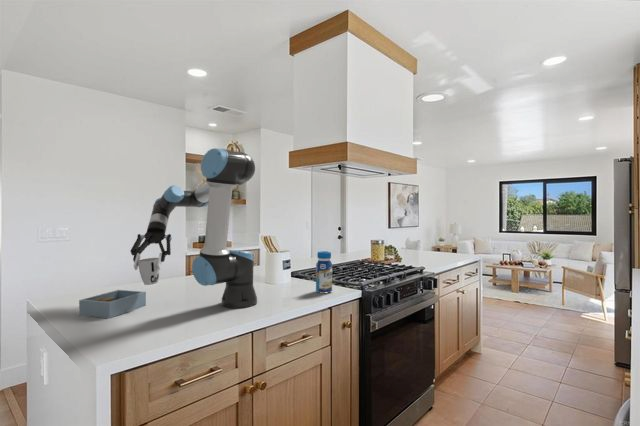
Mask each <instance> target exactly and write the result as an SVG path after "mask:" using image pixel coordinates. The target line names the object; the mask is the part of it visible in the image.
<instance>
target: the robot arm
mask: <svg viewBox="0 0 640 426" xmlns="http://www.w3.org/2000/svg"><path fill="white" fill-rule="evenodd" d="M200 170H201V174H202V175H203V176H204V177H205V178H206V179H205V183H204V184H203V185H201V186H199V187H198V188H196V189H194V190H183V188H182V187H181V186H178V185H170V186H169V187H167V189H166V190H165V191H164V192H163V193H162V195H161V197H159V198H157V199H156V200H155V202H154V203H153V207H152V211H151V215H150V219H149V222H148V225H147V230H146V233H144V234H139V233H138V234H137V236H136V237H137V238H136V239H135V242H134V243H133V245H132V247H131V249H130V254H131V255H132V256H133V258H132V259H133V269H134V270H135V271H137V270H138V269H139V266H138V260H141V255H142V253H143V252H144V251H145V249H146V248H147V247H149V246H150V245H153V244H156V245H158V246H159V249H160V252H159V254H158V255H159V256H158V258H159V259H158V263H157V268H158V269H160V270H161V267H162V263H163V262H165V261H166V260H165V259H166V256H171V249H172V248H171V241H172V235H171V233H169V234H166V233H167V232H166V231H167V227H168V223H169V218H170V214H171V213H172V212H173V210H175V208H176V207H179V208H181V207H182V208H205V207H207V213H206V222H205V223H206V226H205V235H204V236H205V237H204V245H203V247H201V248H200V250H199V256H197V257H195V258H194V259H193V260H192V265H191V271H192V275H193V277H194V278H195V280H196V282H197V283H198V284H199V285H201V286H204V287H207V286H215V285H219V284H223V283H225V288H224V292H223V294H222V297H221V306H222V305H223V306H222V307H225V308H230V307H231V308H233V309H237V308H239V307H242V308H248V307H247V306H249V307H252V306H251V305H253V306H255V305H257V304H258V296H257V293H256V290H255V287H254V254H253V252H251V251H248V250H239V249H238V250H236V249H228V247H227V246H228V245H227V244H228V237H229V236H228V235H229V225H230V214H231V205H232V204H231V203H232V195H233V189H234V188H235V187H237V186H242V185H243V184H245V183H247V182H248V181H250V180H251V179H252V178H253V176H254V175H255V172H256V165H255V161H254V160H253V158H252V157H251V156H250V155H249V154H247V153H245V152H242V151H234V150H231V149H230V150H229V149H224V148H217V147H216V148H211V149H208V150H207V151H206V153H205V154H204V155H203V157H202V158H201V163H200ZM164 239H165V241H166V250H165V248H164V245H163V243H162V241H163V240H164ZM142 241H143V242H142ZM256 303H257V304H256ZM254 304H255V305H254Z"/></svg>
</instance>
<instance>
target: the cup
mask: <svg viewBox="0 0 640 426" xmlns="http://www.w3.org/2000/svg"><path fill="white" fill-rule="evenodd" d="M158 259H159V257H148V258H142V259H140V260H138V271H139V275H140V278H141V281H142V282H143V284H144V286H149V285H150V286H151V285H154V284H157V283H158V282H159V279H160V270H161V268H160V269H158V268H157V263H158Z"/></svg>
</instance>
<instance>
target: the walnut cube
mask: <svg viewBox="0 0 640 426" xmlns="http://www.w3.org/2000/svg"><path fill="white" fill-rule="evenodd" d="M114 300H115V298H114V297H101V298H98V299H94V301H106V302H111V301H114Z"/></svg>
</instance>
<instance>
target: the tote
mask: <svg viewBox="0 0 640 426" xmlns="http://www.w3.org/2000/svg"><path fill="white" fill-rule="evenodd" d="M101 297H114V298H115V300H114V301H111V302H106V301H94V299H98V298H101ZM78 305H79V306H78V308H79V310H78V311H79V312H78V313H79V314H78V316H83V317H92V318H93V317H94V318H101V319H102V318H103V319H104V318H105V319H112V318H113V317H114V318H115V317H117V316H120V315H123V314H125V313H128V312H131V311H134V310H137V309H139V308H143V307H145V306H146V305H147V291H140V290H139V291H138V290H128V289H127V290H125V289H116V290H112V291H108V292H105V293H101V294H98V295H94V296H89V297H86V298H82V299H79V301H78Z"/></svg>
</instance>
